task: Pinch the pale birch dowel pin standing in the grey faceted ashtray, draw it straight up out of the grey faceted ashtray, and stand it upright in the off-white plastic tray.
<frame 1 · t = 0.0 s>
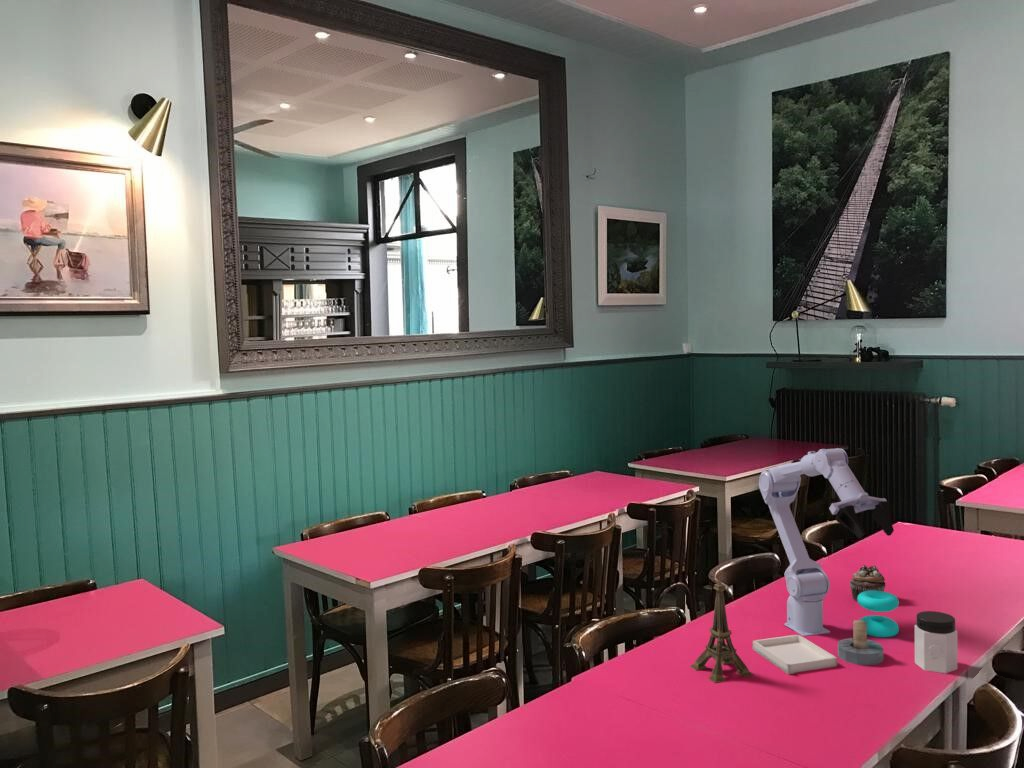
hand: (876, 534, 192), 32 cm above the table, tool tilted 50°, fingers open, 7 cm apart
tray: (793, 658, 204), on the table
jar: (935, 667, 196), on the table
grey faceted ashtray: (860, 657, 202), on the table
pin: (860, 656, 202), resting on grey faceted ashtray
eiffel tower: (721, 671, 198), on the table
cupcake: (867, 600, 244), on the table
donuts: (878, 633, 218), on the table
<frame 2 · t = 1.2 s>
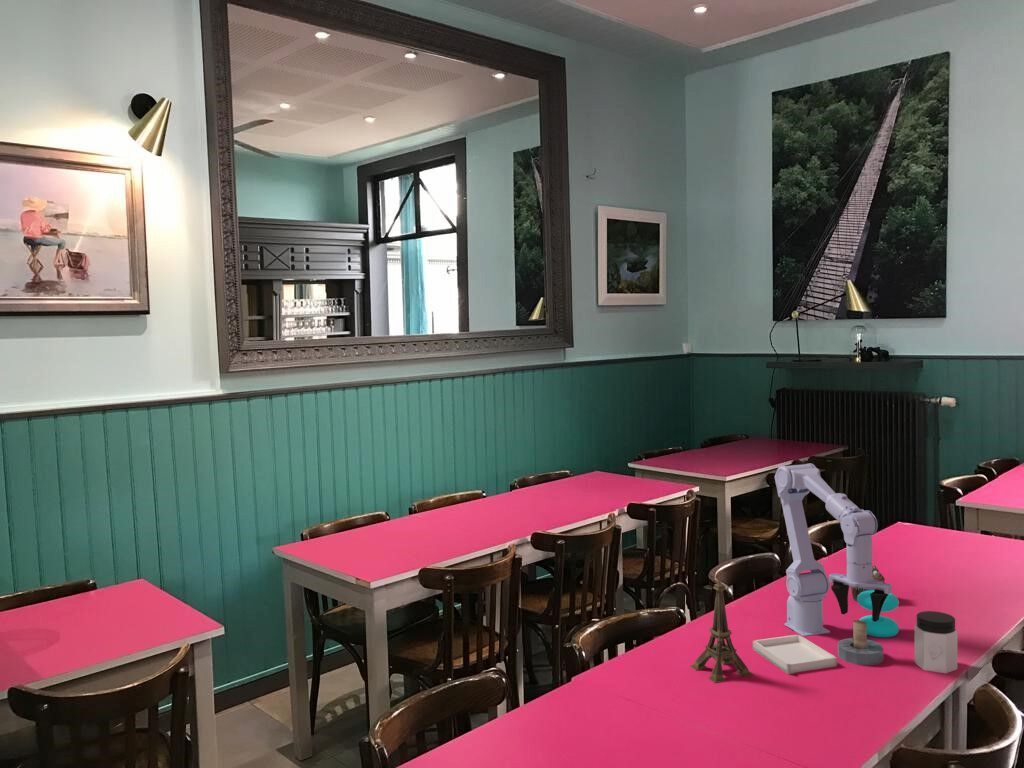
hand: (859, 616, 202), 10 cm above the table, tool pointing down, fingers open, 7 cm apart
nothing on the table moved.
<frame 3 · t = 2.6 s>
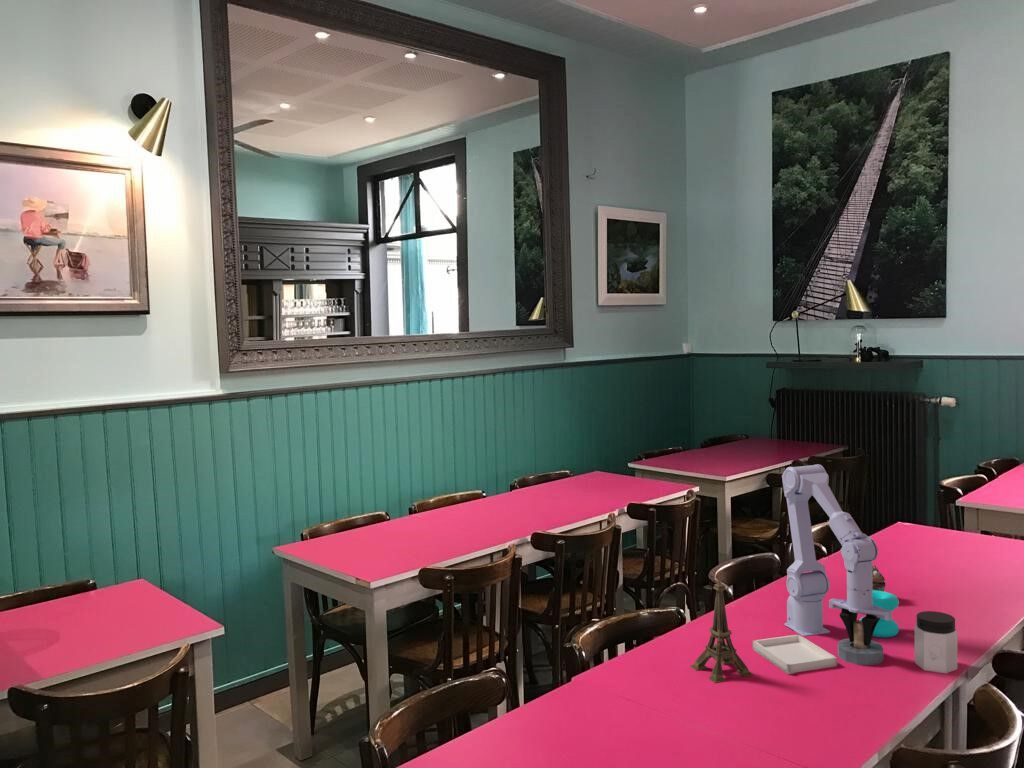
hand: (860, 642, 202), 4 cm above the table, tool pointing down, fingers closed on pin, 3 cm apart
pin: (860, 656, 202), resting on grey faceted ashtray, touching gripper
everything else where it was.
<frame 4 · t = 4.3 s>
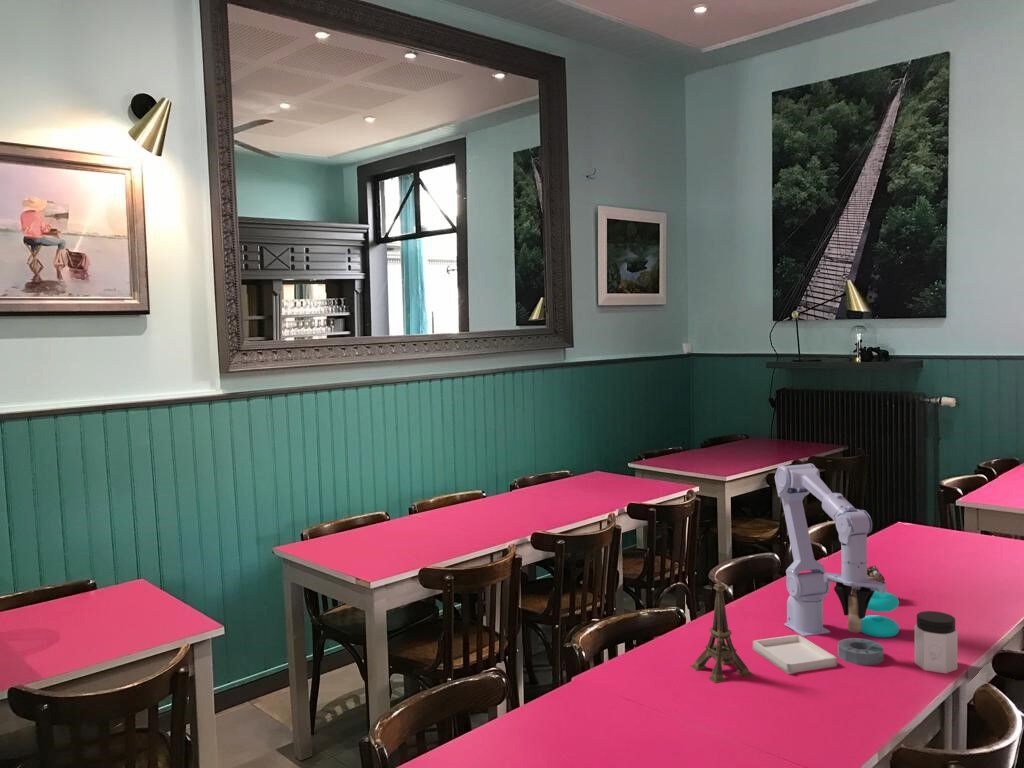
hand: (854, 616, 202), 10 cm above the table, tool pointing down, fingers closed on pin, 3 cm apart
pin: (854, 630, 202), point 7 cm above the table, touching gripper
everything else where it was.
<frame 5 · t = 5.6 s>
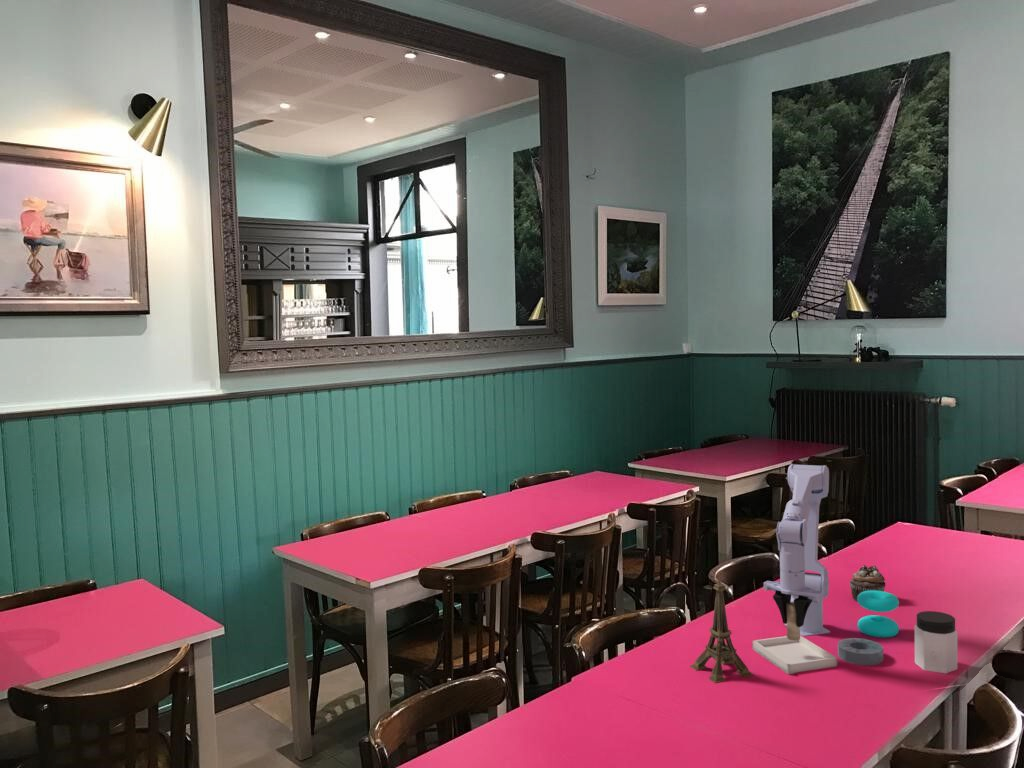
hand: (793, 624, 203), 8 cm above the table, tool pointing down, fingers closed on pin, 3 cm apart
pin: (793, 638, 203), point 5 cm above the table, touching gripper
everything else where it was.
when the fingers open (5 cm above the table, at t = 6.4 s): pin stays where it is, resting on tray.
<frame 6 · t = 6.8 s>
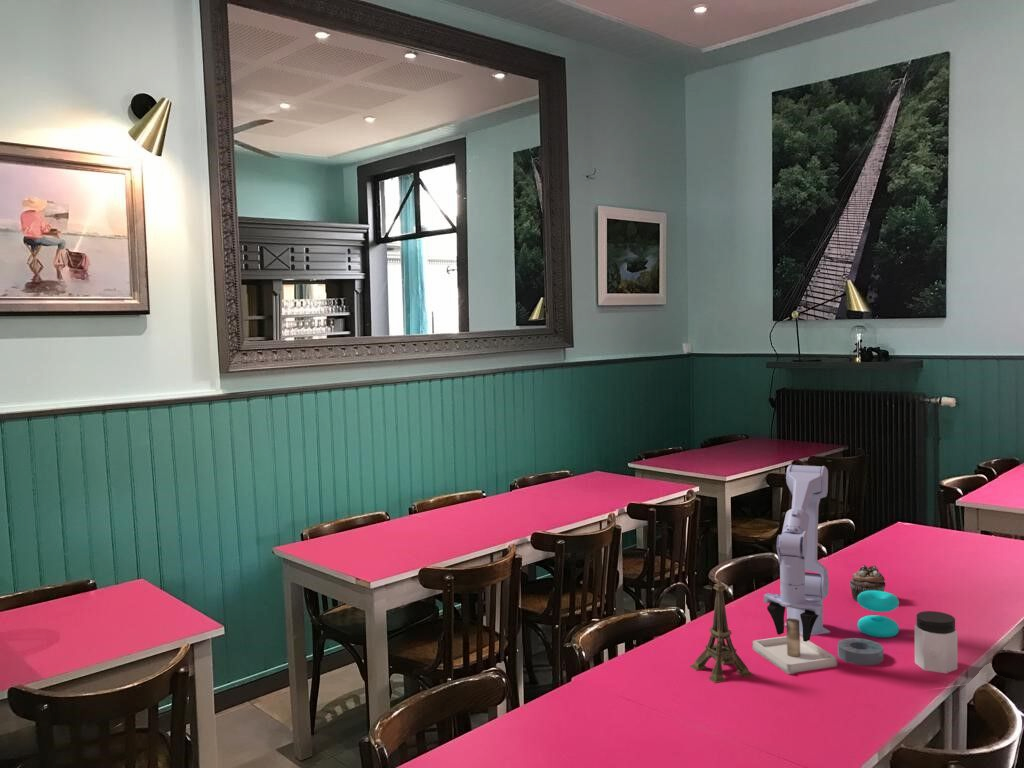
hand: (793, 636, 203), 5 cm above the table, tool pointing down, fingers open, 6 cm apart
pin: (793, 654, 204), point 1 cm above the table, touching tray
everything else where it was.
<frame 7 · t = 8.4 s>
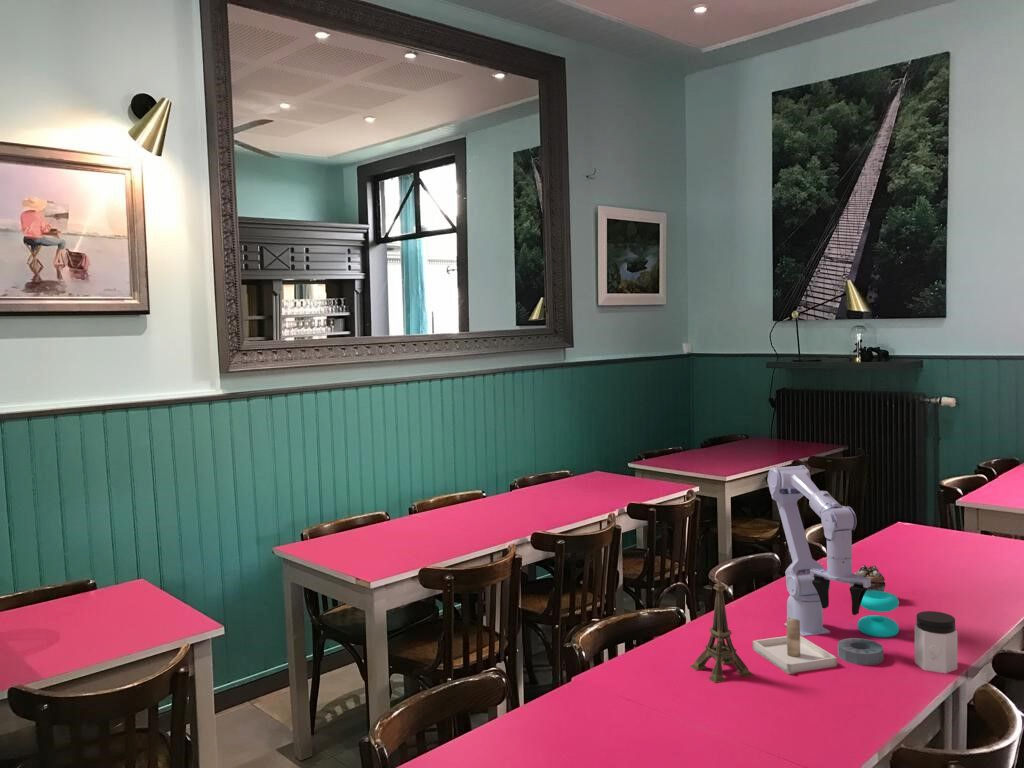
hand: (840, 610, 206), 10 cm above the table, tool pointing down, fingers open, 7 cm apart
nothing on the table moved.
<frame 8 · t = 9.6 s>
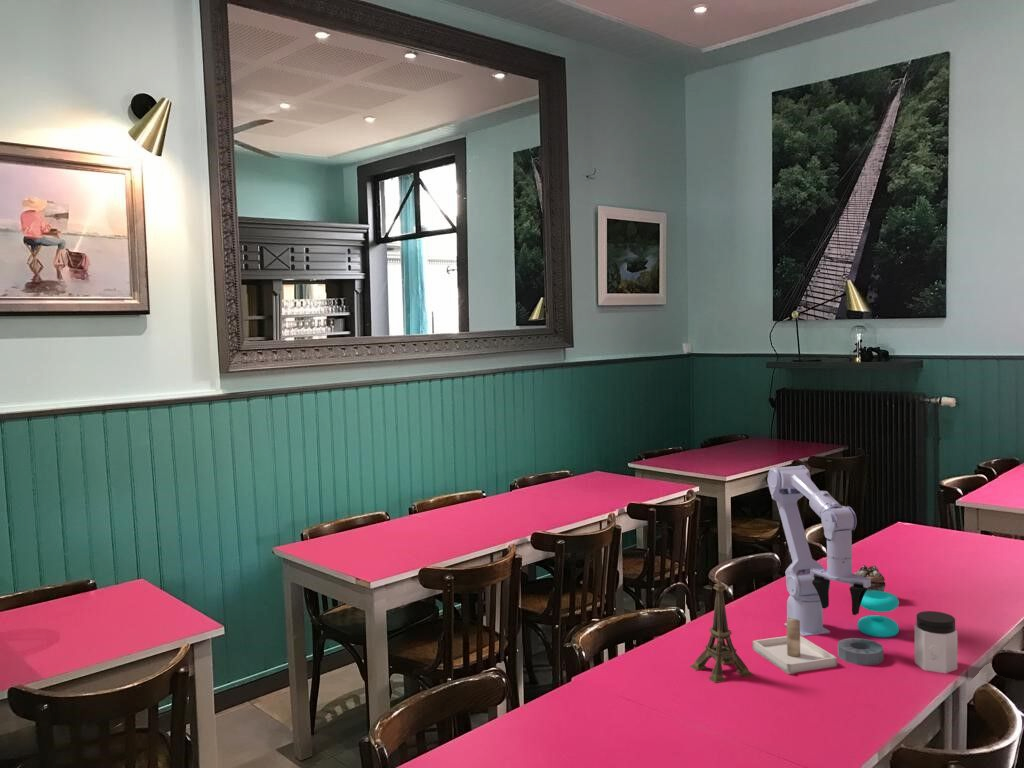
hand: (840, 610, 206), 10 cm above the table, tool pointing down, fingers open, 7 cm apart
nothing on the table moved.
at the end: pin inside the target area on the tray (0.0 cm from its centre), point 0.8 cm above the tray's base; pin tilted 0°; the gripper is holding nothing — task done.
